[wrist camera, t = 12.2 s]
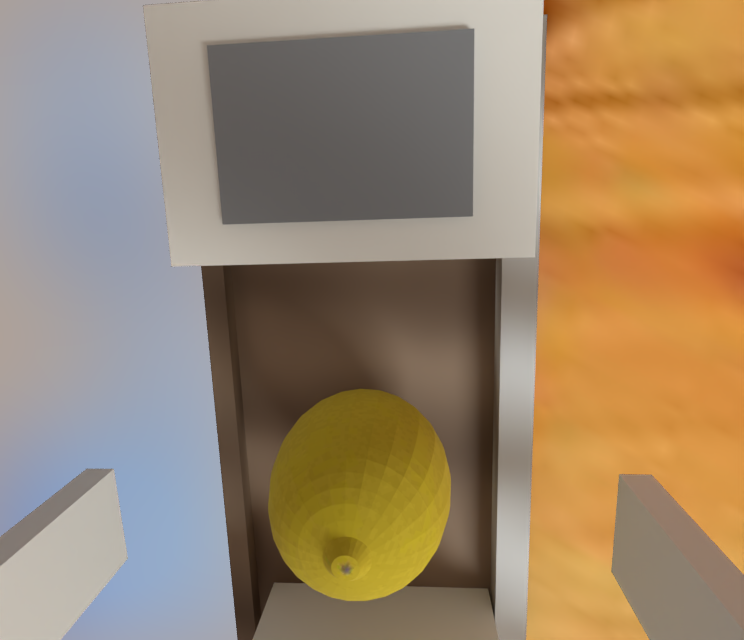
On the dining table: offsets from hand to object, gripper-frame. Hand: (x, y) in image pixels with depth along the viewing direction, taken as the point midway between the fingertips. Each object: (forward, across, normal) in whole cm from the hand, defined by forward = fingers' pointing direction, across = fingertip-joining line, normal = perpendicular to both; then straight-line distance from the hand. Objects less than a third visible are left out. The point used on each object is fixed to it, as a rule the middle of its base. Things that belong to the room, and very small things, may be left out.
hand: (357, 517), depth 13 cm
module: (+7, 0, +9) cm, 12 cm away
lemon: (+7, 0, -1) cm, 7 cm away
